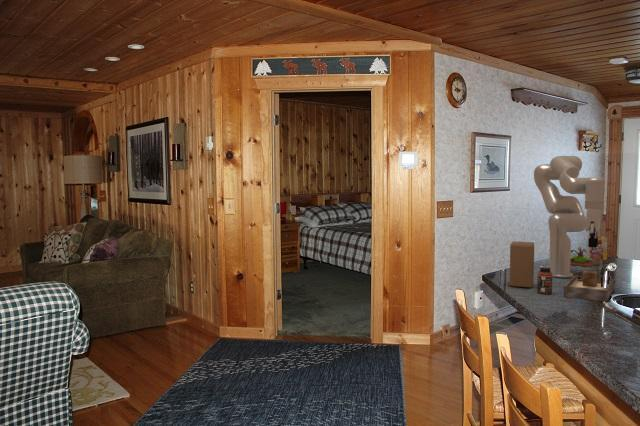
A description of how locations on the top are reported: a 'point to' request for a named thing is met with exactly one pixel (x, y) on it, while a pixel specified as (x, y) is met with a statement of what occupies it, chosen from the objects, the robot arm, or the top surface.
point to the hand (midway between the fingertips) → (593, 246)
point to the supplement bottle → (544, 281)
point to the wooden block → (522, 264)
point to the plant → (582, 259)
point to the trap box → (587, 290)
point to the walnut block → (590, 278)
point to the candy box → (599, 249)
